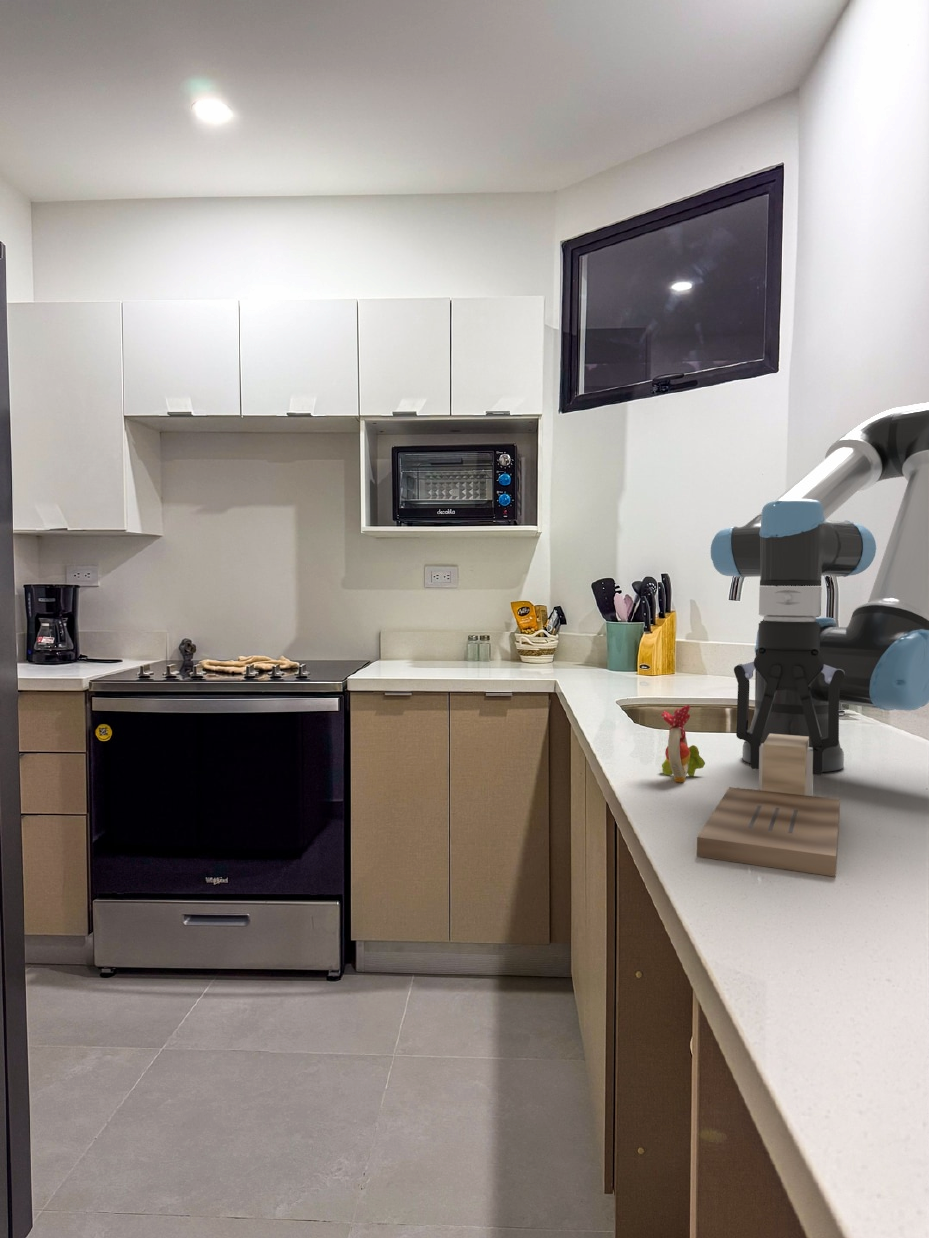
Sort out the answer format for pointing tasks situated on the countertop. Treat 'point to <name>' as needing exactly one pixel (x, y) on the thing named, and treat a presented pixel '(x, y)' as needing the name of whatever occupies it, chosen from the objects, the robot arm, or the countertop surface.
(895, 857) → the countertop surface
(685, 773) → the bird rattle
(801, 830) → the walnut board
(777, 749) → the block
